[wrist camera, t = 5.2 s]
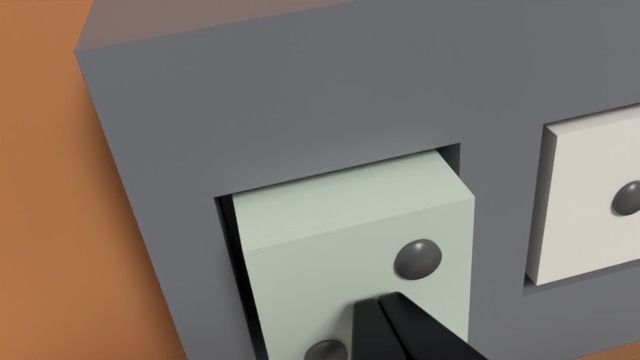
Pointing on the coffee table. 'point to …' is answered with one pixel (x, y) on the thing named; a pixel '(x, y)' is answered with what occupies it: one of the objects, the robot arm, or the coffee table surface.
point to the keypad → (358, 139)
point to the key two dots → (356, 249)
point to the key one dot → (586, 195)
